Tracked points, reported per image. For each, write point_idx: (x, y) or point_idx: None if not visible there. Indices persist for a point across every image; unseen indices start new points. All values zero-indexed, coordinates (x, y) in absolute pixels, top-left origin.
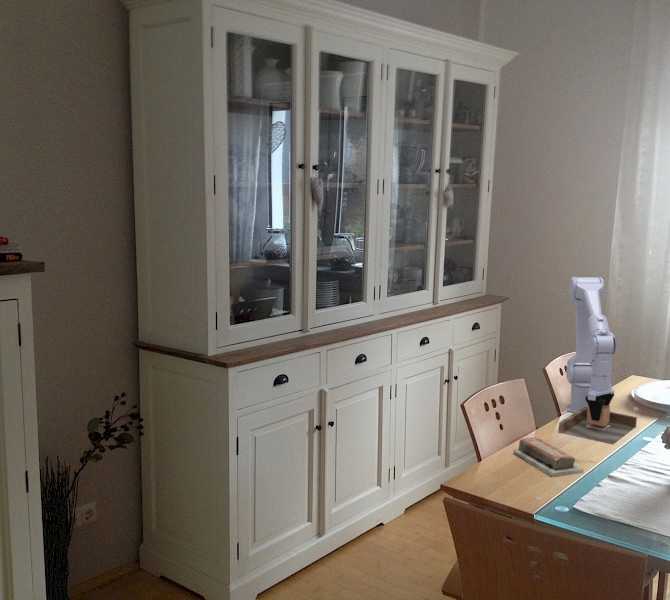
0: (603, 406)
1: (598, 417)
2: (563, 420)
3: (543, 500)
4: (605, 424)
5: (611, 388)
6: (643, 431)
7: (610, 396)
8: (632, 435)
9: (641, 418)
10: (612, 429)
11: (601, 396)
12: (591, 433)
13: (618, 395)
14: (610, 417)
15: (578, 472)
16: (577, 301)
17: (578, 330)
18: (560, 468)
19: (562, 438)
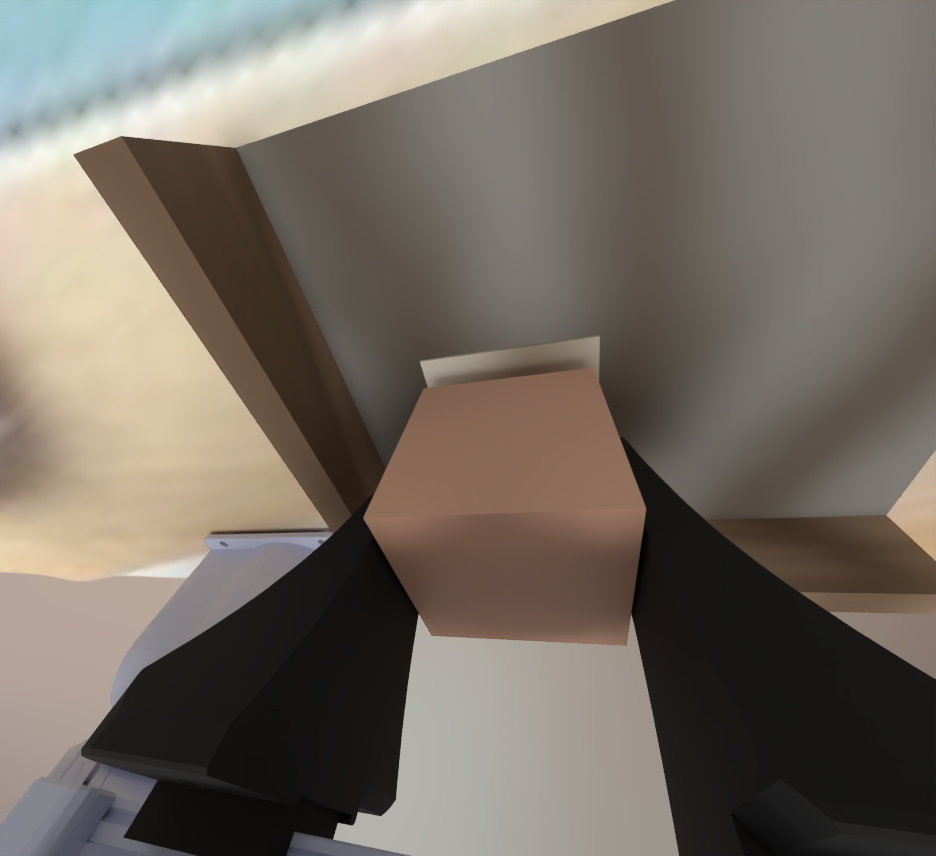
0: (454, 562)
1: (642, 465)
2: (844, 608)
3: None
4: (525, 377)
5: (5, 842)
6: (172, 49)
7: (264, 720)
8: (409, 50)
9: (10, 313)
10: (503, 295)
11: (362, 730)
12: (775, 372)
13: (8, 541)
14: (334, 427)
15: None
16: None
17: None
18: None
19: (920, 479)
